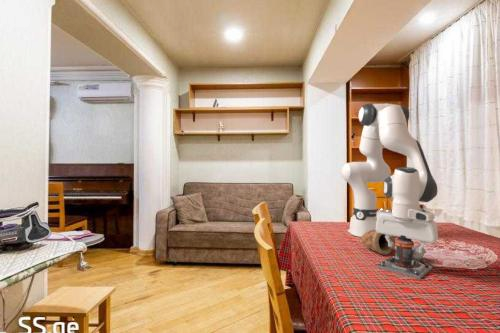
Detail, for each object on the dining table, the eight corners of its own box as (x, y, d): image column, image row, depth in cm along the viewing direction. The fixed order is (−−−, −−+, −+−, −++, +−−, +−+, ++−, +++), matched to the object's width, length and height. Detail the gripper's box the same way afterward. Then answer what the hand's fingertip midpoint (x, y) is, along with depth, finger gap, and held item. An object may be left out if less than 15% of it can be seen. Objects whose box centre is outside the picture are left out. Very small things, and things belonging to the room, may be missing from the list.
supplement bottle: (417, 267, 103) (418, 236, 103) (403, 268, 102) (404, 236, 102) (405, 262, 109) (406, 232, 109) (391, 263, 108) (392, 232, 108)
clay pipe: (355, 259, 126) (389, 256, 116) (349, 234, 128) (381, 230, 118) (374, 249, 139) (406, 246, 128) (368, 227, 141) (399, 222, 130)
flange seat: (400, 254, 122) (400, 242, 122) (439, 262, 112) (439, 249, 112) (377, 267, 106) (377, 254, 106) (420, 279, 96) (420, 264, 96)
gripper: (373, 209, 111) (372, 245, 111) (435, 217, 96) (433, 258, 96) (380, 207, 115) (379, 242, 115) (440, 214, 100) (438, 254, 101)
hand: (404, 249), depth 106 cm, fingers open, 8 cm apart
